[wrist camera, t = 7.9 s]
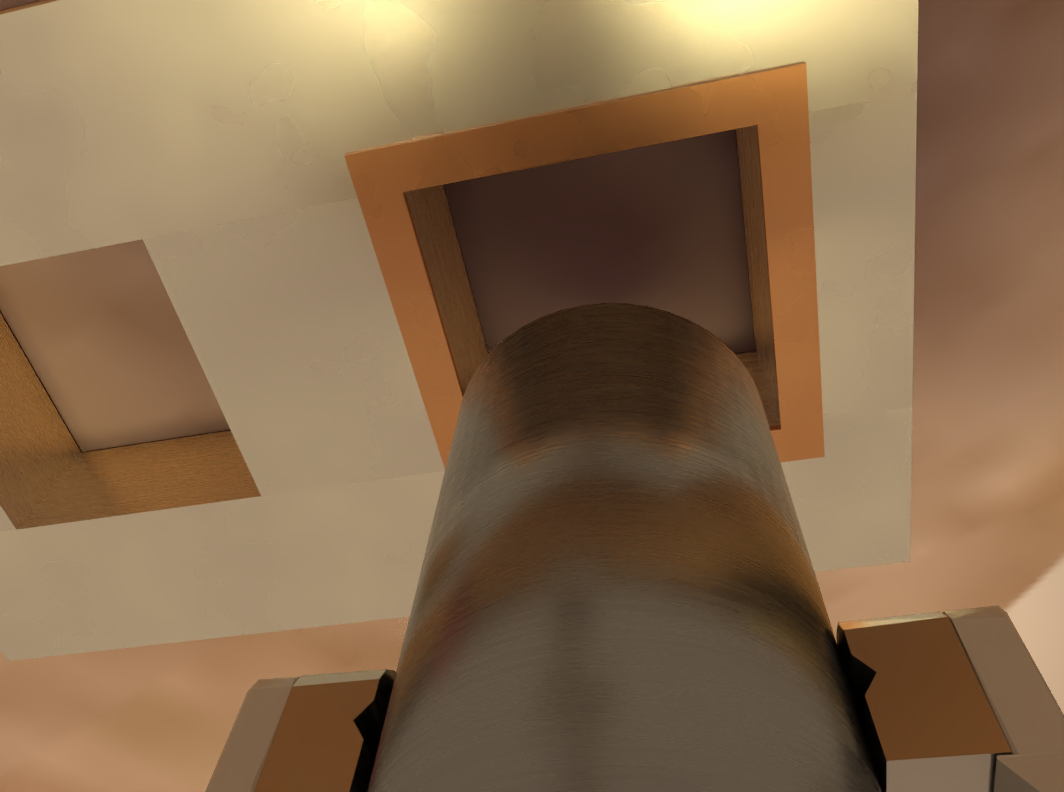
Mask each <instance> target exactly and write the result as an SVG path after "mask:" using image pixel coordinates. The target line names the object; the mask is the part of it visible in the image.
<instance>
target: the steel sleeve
mask: <svg viewBox="0 0 1064 792" xmlns="http://www.w3.org/2000/svg"><path fill="white" fill-rule="evenodd" d="M367 792H882V789H881V786H880V782H879V779H878V776H877V773H876V769H875V766H874V763H873V760H872V757H871V753H870V750H869V747H868V744H867V741H866V737H865V733H864V730H863V727H862V724H861V721H860V717H859V714H858V711H857V708H856V704H855V701H854V698H853V695H852V692H851V689H850V686H849V682H848V679H847V676H846V673H845V669H844V666H843V663H842V660H841V656H840V653H839V650H838V647H837V643H836V640H835V637H834V633H833V630H832V627H831V624H830V621H829V617H828V614H827V611H826V608H825V604H824V601H823V598H822V595H821V592H820V588H819V585H818V582H817V579H816V575H815V572H814V569H813V566H812V563H811V559H810V556H809V553H808V550H807V546H806V543H805V540H804V537H803V533H802V530H801V527H800V524H799V521H798V517H797V514H796V511H795V508H794V504H793V501H792V498H791V495H790V492H789V488H788V485H787V482H786V479H785V475H784V472H783V469H782V466H781V463H780V459H779V456H778V453H777V450H776V446H775V443H774V440H773V437H772V434H771V430H770V427H769V424H768V421H767V417H766V414H765V411H764V408H763V405H762V401H761V399H760V396H759V393H758V390H757V387H756V385H755V383H754V381H753V379H752V377H751V376H750V374H749V372H748V370H747V369H746V367H745V366H744V365H743V363H742V362H741V361H740V359H739V358H738V357H737V356H736V355H735V354H734V353H733V352H732V351H731V350H730V349H729V348H728V347H727V346H726V345H725V344H724V343H723V342H722V341H721V340H720V339H718V338H717V337H716V336H714V335H713V334H712V333H710V332H709V331H708V330H706V329H704V328H702V327H701V326H699V325H697V324H695V323H693V322H692V321H690V320H688V319H685V318H683V317H680V316H678V315H675V314H673V313H670V312H667V311H663V310H659V309H656V308H652V307H648V306H640V305H633V304H620V303H602V304H592V305H583V306H578V307H574V308H569V309H565V310H561V311H558V312H555V313H552V314H550V315H547V316H544V317H541V318H539V319H537V320H535V321H533V322H531V323H529V324H527V325H525V326H523V327H522V328H520V329H519V330H517V331H516V332H514V333H513V334H511V335H510V336H508V337H507V338H506V339H505V340H503V341H502V342H501V343H500V344H499V345H498V346H497V347H496V348H495V349H493V350H492V351H491V352H490V354H489V355H488V356H487V357H486V358H485V360H484V361H483V362H482V363H481V364H480V365H479V367H478V369H477V370H476V372H475V374H474V375H473V377H472V378H471V380H470V382H469V384H468V387H467V389H466V391H465V394H464V396H463V399H462V403H461V407H460V411H459V415H458V419H457V423H456V428H455V432H454V436H453V440H452V444H451V448H450V452H449V457H448V461H447V465H446V469H445V473H444V477H443V481H442V485H441V490H440V494H439V498H438V502H437V506H436V510H435V514H434V518H433V523H432V527H431V531H430V535H429V539H428V543H427V547H426V552H425V556H424V560H423V564H422V568H421V572H420V576H419V580H418V585H417V589H416V593H415V597H414V601H413V605H412V609H411V613H410V618H409V622H408V626H407V630H406V634H405V638H404V642H403V647H402V651H401V655H400V659H399V663H398V667H397V671H396V675H395V680H394V684H393V688H392V692H391V696H390V700H389V704H388V708H387V713H386V717H385V721H384V725H383V729H382V733H381V737H380V742H379V746H378V750H377V754H376V758H375V762H374V766H373V770H372V775H371V779H370V783H369V787H368V791H367Z"/></svg>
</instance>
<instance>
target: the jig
mask: <svg viewBox="0 0 1064 792" xmlns="http://www.w3.org/2000/svg"><path fill="white" fill-rule="evenodd" d="M917 61H918V0H44V1H40V2H36V3H32V4H27V5H23V6H19V7H15V8H11V9H7V10H3V11H0V266H5V265H10V264H15V263H20V262H26V261H31V260H36V259H41V258H47V257H52V256H57V255H62V254H68V253H73V252H78V251H83V250H89V249H94V248H99V247H104V246H110V245H115V244H120V243H125V242H131V241H136V240H141V239H142V240H143V242H144V244H145V246H146V248H147V250H148V253H149V255H150V257H151V259H152V261H153V263H154V266H155V268H156V270H157V272H158V274H159V276H160V278H161V281H162V283H163V285H164V287H165V289H166V291H167V294H168V296H169V298H170V300H171V302H172V304H173V307H174V309H175V311H176V313H177V315H178V317H179V319H180V322H181V324H182V326H183V328H184V330H185V332H186V335H187V337H188V339H189V341H190V343H191V345H192V348H193V350H194V352H195V354H196V356H197V358H198V361H199V363H200V365H201V367H202V369H203V371H204V373H205V376H206V378H207V380H208V382H209V384H210V386H211V389H212V391H213V393H214V395H215V397H216V399H217V402H218V404H219V406H220V408H221V410H222V412H223V414H224V417H225V419H226V421H227V423H228V425H229V427H230V431H224V432H217V433H210V434H204V435H197V436H190V437H184V438H177V439H170V440H164V441H157V442H151V443H144V444H137V445H131V446H124V447H117V448H111V449H104V450H97V451H91V452H84V453H81V452H80V450H79V448H78V446H77V445H76V443H75V441H74V440H73V438H72V436H71V434H70V433H69V431H68V429H67V427H66V426H65V424H64V422H63V420H62V419H61V417H60V415H59V414H58V412H57V410H56V408H55V407H54V405H53V403H52V401H51V400H50V398H49V396H48V394H47V393H46V391H45V389H44V388H43V386H42V384H41V382H40V381H39V379H38V377H37V375H36V374H35V372H34V370H33V369H32V367H31V365H30V363H29V362H28V360H27V358H26V356H25V355H24V353H23V351H22V349H21V348H20V346H19V344H18V343H17V341H16V339H15V337H14V336H13V334H12V332H11V330H10V329H9V327H8V325H7V323H6V322H5V320H4V318H3V317H2V315H1V313H0V650H1V652H2V653H3V654H4V656H5V657H6V659H7V660H8V661H12V660H22V659H31V658H40V657H49V656H58V655H67V654H76V653H85V652H94V651H103V650H112V649H121V648H130V647H139V646H148V645H157V644H166V643H175V642H184V641H193V640H202V639H212V638H221V637H230V636H239V635H248V634H257V633H266V632H275V631H284V630H293V629H302V628H311V627H320V626H329V625H338V624H347V623H356V622H365V621H374V620H383V619H393V618H402V617H410V613H411V609H412V605H413V601H414V597H415V593H416V589H417V585H418V580H419V576H420V572H421V568H422V564H423V560H424V556H425V552H426V547H427V543H428V539H429V535H430V531H431V527H432V523H433V518H434V514H435V510H436V506H437V502H438V498H439V494H440V490H441V485H442V481H443V477H444V473H445V469H446V465H447V461H448V457H449V452H450V448H451V444H452V440H453V436H454V432H455V428H456V423H457V419H458V415H459V411H460V407H461V403H462V399H463V396H464V394H465V391H466V389H467V387H468V384H469V382H470V380H471V378H472V377H473V375H474V374H475V372H476V370H477V369H478V367H479V365H480V364H481V363H482V362H483V361H484V360H485V358H486V357H487V356H488V351H487V347H486V344H485V340H484V336H483V333H482V329H481V325H480V321H479V318H478V314H477V310H476V306H475V303H474V299H473V295H472V291H471V288H470V284H469V280H468V277H467V273H466V269H465V265H464V262H463V258H462V254H461V250H460V247H459V243H458V239H457V236H456V232H455V228H454V224H453V221H452V217H451V213H450V209H449V206H448V202H447V198H446V195H445V191H444V187H443V184H448V183H454V182H459V181H464V180H469V179H475V178H480V177H485V176H490V175H496V174H501V173H506V172H512V171H517V170H522V169H527V168H533V167H538V166H543V165H548V164H554V163H559V162H564V161H569V160H575V159H580V158H585V157H590V156H596V155H601V154H606V153H611V152H617V151H622V150H627V149H632V148H638V147H643V146H648V145H654V144H659V143H664V142H669V141H675V140H680V139H685V138H690V137H696V136H701V135H706V134H711V133H717V132H722V131H727V130H732V129H736V136H737V147H738V158H739V169H740V180H741V191H742V202H743V214H744V225H745V236H746V247H747V258H748V269H749V281H750V292H751V303H752V314H753V325H754V336H755V348H756V352H749V353H742V354H736V356H737V357H738V358H739V359H740V361H741V362H742V363H743V365H744V366H745V367H746V369H747V370H748V372H749V374H750V376H751V377H752V379H753V381H754V383H755V385H756V387H757V390H758V393H759V396H760V399H761V401H762V405H763V408H764V411H765V414H766V417H767V421H768V424H769V427H770V430H771V434H772V437H773V440H774V443H775V446H776V450H777V453H778V456H779V459H780V463H781V466H782V469H783V472H784V475H785V479H786V482H787V485H788V488H789V492H790V495H791V498H792V501H793V504H794V508H795V511H796V514H797V517H798V521H799V524H800V527H801V530H802V533H803V537H804V540H805V543H806V546H807V550H808V553H809V556H810V559H811V563H812V566H813V569H814V572H818V571H827V570H836V569H845V568H854V567H863V566H872V565H881V564H890V563H899V562H908V561H910V527H911V461H912V394H913V327H914V261H915V194H916V128H917Z"/></svg>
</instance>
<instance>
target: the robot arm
mask: <svg viewBox="0 0 1064 792" xmlns="http://www.w3.org/2000/svg"><path fill="white" fill-rule="evenodd" d="M837 647H838V650H839V653H840V656H841V660H842V663H843V666H844V669H845V673H846V676H847V679H848V682H849V686H850V689H851V692H852V695H853V698H854V701H855V704H856V708H857V711H858V714H859V717H860V721H861V724H862V727H863V730H864V733H865V737H866V741H867V744H868V747H869V750H870V753H871V757H872V760H873V763H874V766H875V769H876V773H877V776H878V779H879V782H880V786H881V789H882V792H1064V715H1063V713H1062V711H1061V709H1060V707H1059V706H1058V704H1057V702H1056V700H1055V698H1054V697H1053V695H1052V693H1051V691H1050V689H1049V688H1048V686H1047V684H1046V682H1045V680H1044V679H1043V677H1042V675H1041V673H1040V671H1039V670H1038V668H1037V666H1036V664H1035V662H1034V661H1033V659H1032V657H1031V655H1030V653H1029V652H1028V650H1027V648H1026V646H1025V644H1024V643H1023V641H1022V639H1021V637H1020V635H1019V634H1018V632H1017V630H1016V628H1015V627H1014V625H1013V623H1012V621H1011V619H1010V617H1009V616H1008V614H1007V613H1006V612H1005V611H1004V610H1003V609H1001V608H1000V607H999V606H989V607H980V608H970V609H961V610H952V611H944V612H943V613H941V612H930V613H921V614H912V615H903V616H894V617H885V618H876V619H868V620H859V621H850V622H841V623H838V626H837ZM395 675H396V673H395V671H393V670H372V671H359V672H345V673H331V674H318V675H304V676H300V677H287V678H274V679H261V680H258V681H257V682H256V683H255V684H254V685H253V686H252V687H251V688H250V689H249V691H248V692H247V694H246V696H245V699H244V701H243V704H242V706H241V708H240V711H239V713H238V715H237V718H236V720H235V723H234V725H233V727H232V730H231V732H230V734H229V737H228V739H227V742H226V744H225V746H224V749H223V751H222V753H221V756H220V758H219V760H218V763H217V765H216V768H215V770H214V772H213V775H212V777H211V779H210V782H209V784H208V787H207V789H206V791H205V792H367V791H368V787H369V783H370V779H371V775H372V770H373V766H374V762H375V758H376V754H377V750H378V746H379V742H380V737H381V733H382V729H383V725H384V721H385V717H386V713H387V708H388V704H389V700H390V696H391V692H392V688H393V684H394V680H395Z"/></svg>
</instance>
